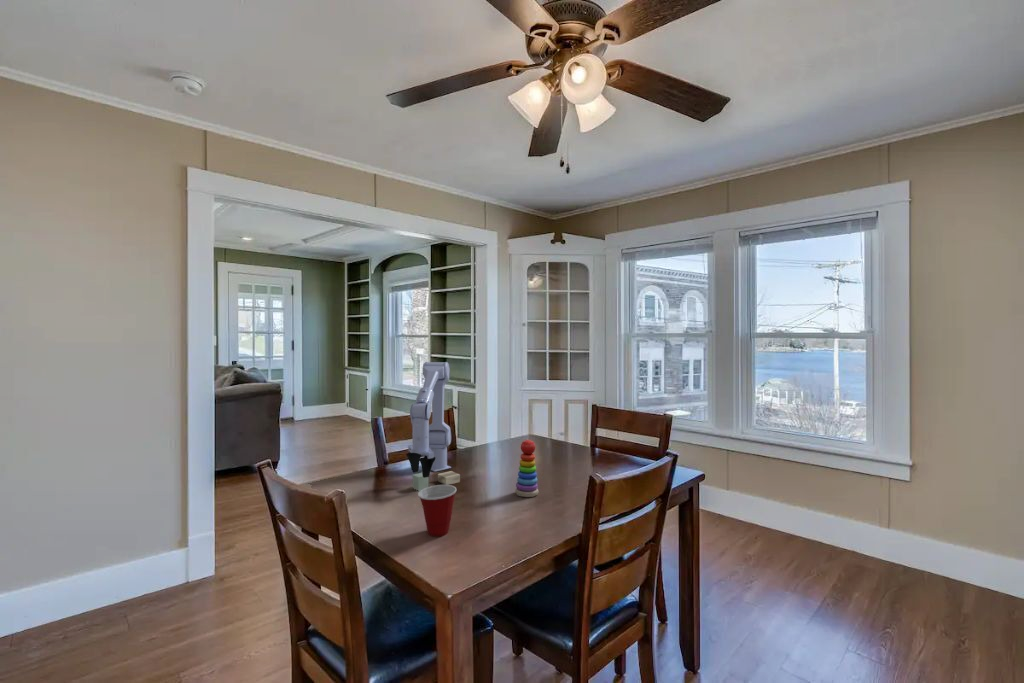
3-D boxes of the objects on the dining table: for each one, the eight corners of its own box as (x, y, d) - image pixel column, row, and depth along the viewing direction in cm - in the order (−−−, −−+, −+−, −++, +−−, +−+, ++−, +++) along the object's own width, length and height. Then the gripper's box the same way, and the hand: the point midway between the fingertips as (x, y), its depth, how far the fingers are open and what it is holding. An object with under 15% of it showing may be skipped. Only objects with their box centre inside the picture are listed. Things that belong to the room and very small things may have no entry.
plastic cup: (420, 524, 135) (420, 483, 135) (457, 523, 135) (457, 483, 135) (414, 541, 124) (414, 497, 124) (455, 540, 125) (455, 496, 124)
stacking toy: (536, 498, 156) (536, 443, 156) (513, 497, 158) (513, 442, 157) (540, 491, 164) (540, 438, 163) (517, 489, 165) (518, 437, 165)
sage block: (412, 488, 166) (412, 474, 166) (422, 486, 169) (422, 472, 169) (418, 491, 163) (418, 477, 163) (428, 488, 166) (428, 474, 166)
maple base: (437, 481, 174) (437, 473, 174) (451, 478, 178) (451, 470, 178) (446, 486, 170) (446, 477, 170) (460, 482, 174) (460, 474, 173)
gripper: (400, 434, 168) (400, 472, 169) (421, 441, 157) (421, 481, 158) (417, 432, 173) (417, 468, 173) (438, 438, 162) (438, 477, 162)
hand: (420, 474), depth 166 cm, fingers open, 7 cm apart
